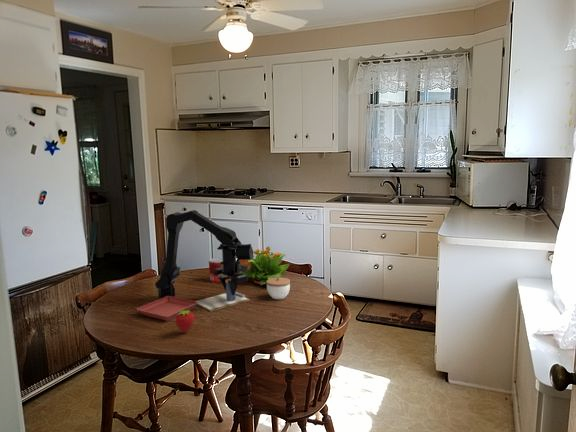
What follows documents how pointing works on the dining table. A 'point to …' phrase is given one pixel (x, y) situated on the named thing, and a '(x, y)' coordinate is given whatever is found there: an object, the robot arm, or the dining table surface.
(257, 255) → the potted flower
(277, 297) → the lidded jar
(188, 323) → the strawberry
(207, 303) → the clipboard
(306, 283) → the dining table surface
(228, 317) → the dining table surface
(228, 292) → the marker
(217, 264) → the canned food
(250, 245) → the robot arm
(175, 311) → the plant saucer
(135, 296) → the dining table surface
